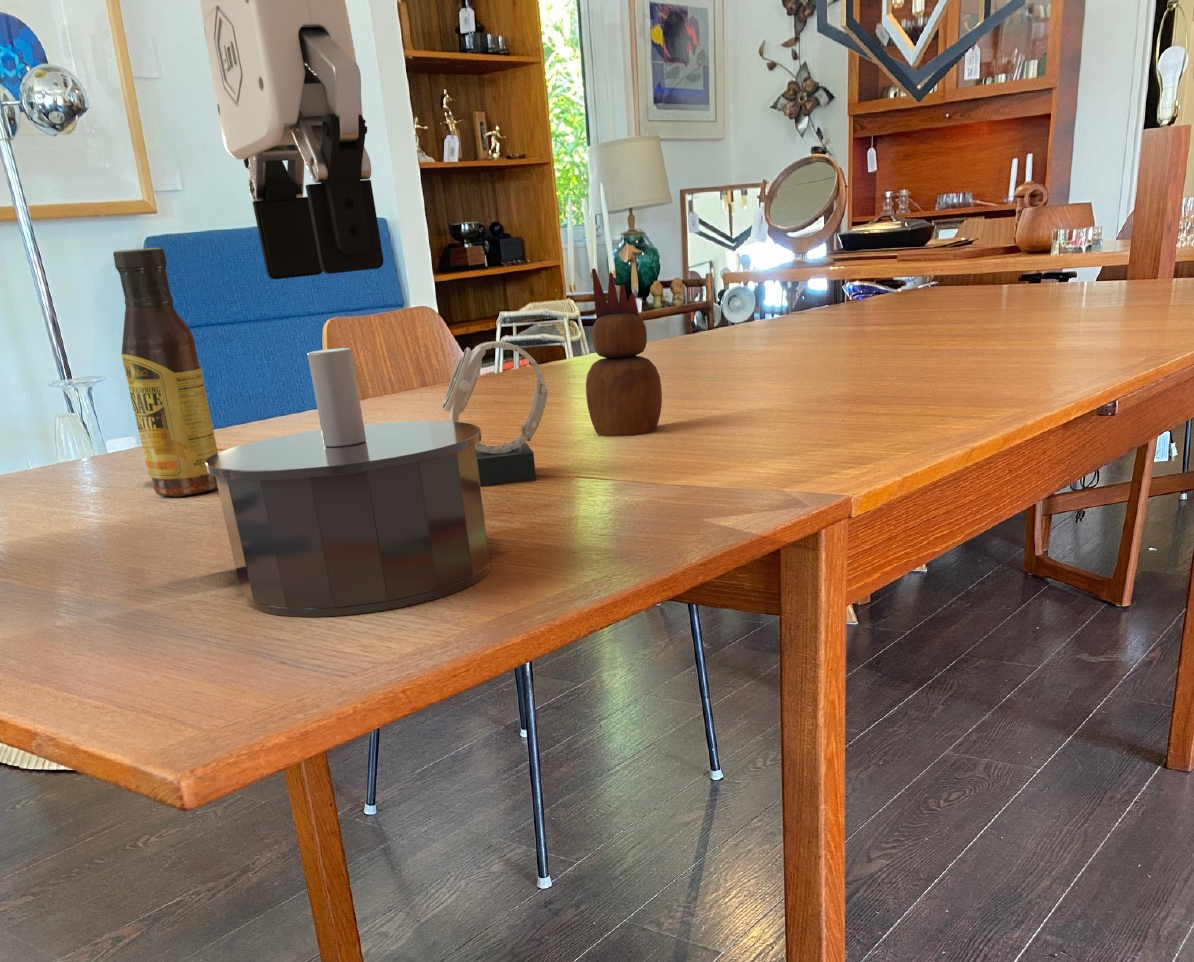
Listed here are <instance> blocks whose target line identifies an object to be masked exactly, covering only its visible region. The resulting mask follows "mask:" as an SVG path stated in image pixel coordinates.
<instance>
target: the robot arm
mask: <svg viewBox="0 0 1194 962" xmlns="http://www.w3.org/2000/svg"><path fill="white" fill-rule="evenodd" d="M199 1H200V8H201V9H200V11H201V15H202V23H203V29H204V35H205V36H204V37H205V41H206V48H207V53H208V60H209V66H210V72H211V78H212V84H213V88H214V89H213V91H214V96H215V101H216V108H217V113H218V120H219V125H220V130H221V131H220V132H221V135H222V142H223V145H224V149H225V150H226V152H227V153H228V154H229V155H230V156H231V157H233V158H234V159H236V160H243V164H244V167H245V168H246V169H247V171H248V189H249V190H248V191H249V194H250V198H251V199H252V207H253V212H254V217H255V222H256V227H257V231H258V237H259V241H260V247H261V250H262V251H261V252H262V256H263V261H264V262H263V263H264V266H265V267H264V268H265V272H266V274H267V277H268V278H269V279H270V280H283V279H293V278H302V277H310V276H319V275H321V274H322V273H324V274H326V275H330V274H331V275H333V274H341V273H348V272H349V273H351V272H358V271H367V270H377V269H381V268H382V267H383V265H384V263H385V262H384V253H383V248H382V241H381V236H380V235H381V234H380V227H379V223H378V217H377V216H378V215H377V210H376V204H375V203H376V202H375V197H374V192H373V191H374V190H373V184H372V180H371V177H372V164H371V163H372V162H371V159H370V157H369V153H368V152H367V149H366V147H365V142H366V134H367V133H368V126H367V125H366V122H367V121H366V119H364V115H363V101H362V75H361V69H360V67H359V65H358V63H357V57H356V51H355V45H354V40H353V35H352V29H351V24H350V23H351V22H350V19H349V14H348V8H347V4H346V0H199ZM286 161H287V163H286V164H287V166H285V164H284V162H286ZM305 166H306V168H307V170H308V172H309V176H310V177H311V180H312V182H313V183H309V184H306V185H305V191H306V196H304V183H305ZM286 167H287V168H286Z"/></svg>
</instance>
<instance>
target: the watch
mask: <svg viewBox="0 0 1194 962" xmlns="http://www.w3.org/2000/svg"><path fill="white" fill-rule="evenodd" d="M491 349H505V350H511V351H513V352H516V353H518V354H520V355H521V356H523V357H524V358H525V359H526V360H527V361H528V362H529V363H530V364H531V366H532V368H533V370H534V372H535V373H536V377H537V379H536V380H535V390H534V395H533V400H532V403H531V407H530V410H529V412H528V415H527V418H526V420H525V422H524V424H523V425H522V426H521V429H520V431H521V434H520V435H518V438H515V439H513V440H512V441H509V443H504V444H499V445H492V444H491V445H490V444H489V445H486V444H484V443H481V442H479V443H478V444H476V445H475V450H476V458H477V465H478V473H479V481H480V488H483V487H484V488H485V487H486V488H487V487H494V486H501V485H502V486H503V485H511V484H521V483H529V482H535V481H537V473H536V465H535V455H534V451H533V450H532V448H531V447H530V446H529V444H528V443H527V442H530V441H532V439H533V438H534V435H535V434H536V432H537V430H538V427H539V425H540V423H541V421H542V419H543V415H544V412H545V408H546V404H547V399H548V389H547V386H546V385H547V384H546V379H545V375H544V374H543V371H542V369H541V367H540V365H539V363H538V362H537V361H536V360H535V359H534V358H533V356H532V355H531V354H529V353H528V352H527V351H526V350H524V349H523V348H521V347H520V346H518V345H515V344H513V343H510V342H507V341H498V340H496V341H495V340H494V341H485V342H481V343H479V344H478V345H476V346H475V347H474V348H473V349H472V350H471V348H470V347H466V348H465V349H464V351H463V352H462V354H461V356H460V358H459V359H458V362H457V365H456V366H455V369H454V371H453V374H452V375H451V376H452V377H451V379H450V381H449V383H448V387H447V390H446V393H445V397H444V399H443V405H442V411H444V412H448V417H449V421H451V422H459V419H460V415H461V414H462V413H463V412H464V410H465V409H466V407H467V405H468V403H469V401H470V399H471V397H472V394H473V392H474V389H475V387H476V384H477V381H478V379H479V376H480V374H481V373H480V372H481V369H482V364H483V357H484V356H485V355H486V352H487V351H486V350H491Z"/></svg>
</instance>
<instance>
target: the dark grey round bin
mask: <svg viewBox="0 0 1194 962" xmlns="http://www.w3.org/2000/svg"><path fill="white" fill-rule="evenodd" d="M215 477H216V476H215ZM216 482H217V486H218V489H217V490H218V494H219V499H220V504H221V509H222V513H223V516H224V517H223V518H224V522H225V526H226V531H227V536H228V539H229V540H228V541H229V545H230V547H231V548H230V549H231V553H232V558H233V563H234V567H235V572H236V575H237V579H238V584H239V589H240V593H241V594H243V595H244V600H245V603H246V604H247V605H248V607H250V608H252V609H254V610H256V611H260V612H262V613H267V614H270V615H277V616H285V617H299V618H301V617H302V618H304V617H305V618H307V617H308V618H315V617H316V618H320V617H323V618H324V617H339V616H340V617H341V616H351V615H352V616H353V615H362V614H363V615H364V614H370V613H377V612H383V611H388V610H394V609H395V610H396V609H399V608H404V607H409V606H415V605H418V604H422V603H426V602H430V601H433V600H436V599H441V598H443V597H447V596H450V595H452V594H455V593H457V592H461V591H462V590H465V589H467V588H469V587H471V586H472V585H474V584H476V583H478V582H479V581H481V580H482V579H483V578H484V577H485V576H486V575H488V572H490V570H491V569H490V567H491V564H490V562H491V561H490V554H489V553H490V551H489V545H488V544H489V543H488V537H487V530H486V529H487V527H486V523H485V522H486V521H485V512H484V505H483V497H482V490H481V487H480V481H479V473H478V465H477V458H476V450H475V446H473V447H471V448H468V449H466V450H463V451H461V452H458V453H455V454H451V455H448V456H444V457H440V458H436V459H432V460H428V461H424V462H419V463H414V464H409V465H404V466H399V467H393V468H387V469H381V470H374V471H367V472H360V473H352V474H344V475H335V476H325V477H315V478H302V479H285V480H236V479H226V478H221V477H216Z"/></svg>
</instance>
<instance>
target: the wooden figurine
mask: <svg viewBox="0 0 1194 962" xmlns="http://www.w3.org/2000/svg"><path fill="white" fill-rule="evenodd" d="M591 276H592V277H591V278H592V288H593V299H594V307H595V308H594V309H595V317H596V320H595V322H594V323H593V325H592V326H593V327H592V331H591V339H592V345H593V348H594V351H595V353H596V354H597V355H598V356H599V357H602V358H600V359H598V360H596V361H594V362H593V363H592V364H591V365H590V368H589V370H588V371H587V374H586V380H585V397H586V405H587V409H588V414H589V418H590V421H591V424H592V427H593V429H594V431H595V433H596V435H597V436H598V437H601V436H602V437H630V436H639V435H644V434H649V433H653V432H654V431H656V430H657V427H658V424H659V422H660V417H661V413H662V405H663V394H662V393H663V391H662V383H661V376H660V374H659V371H658V369H657V366H656V365H655V364H654V363H653V362H652V361H651V359H650V358H647V357H645V356H641V354H642V353H644V351H645V349H646V346H647V343H648V334H647V333H648V332H647V326H646V324H645V322H644V319H643V318H642V317H641V316H640V313H639V308H638V303H637V299H636V296H635V294H634V293H630V295H629V298H628V295H627V291H626V286H625V284H621V285H620V289H619V290H620V291H619V298H618V293H617V287H616V283H615V278H614V277H615V276H614V273H613V272H609V274H608V285H607V286H608V287H607V299H606V296H605V295H606V294H605V291H604V289H603V287H602V284H601V281H600V278H599V275H598V272H597V269H596V268H591Z"/></svg>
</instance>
